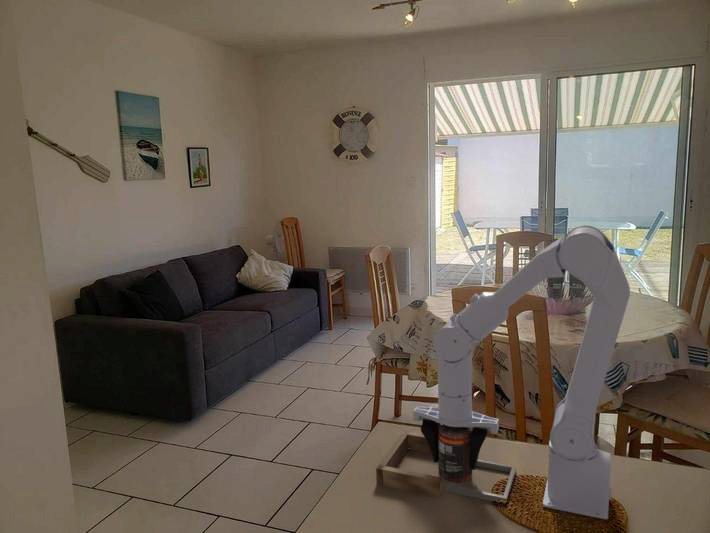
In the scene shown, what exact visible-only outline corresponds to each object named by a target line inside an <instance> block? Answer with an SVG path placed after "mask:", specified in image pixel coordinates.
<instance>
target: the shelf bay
mask: <svg viewBox="0 0 710 533" xmlns="http://www.w3.org/2000/svg"><path fill="white" fill-rule="evenodd" d="M408 448H409V449H408ZM412 449H413V450H412ZM414 449H415V450H414ZM406 450H407V451H408V450H412V451H418V450H420V451H419V452H423V451H425V452H424V453H428V452H430V453H429V454H432V453H431V450H430V447H429V444H428V442H427V440H426V438H425V437H424V435H423V434H422V432H414V431H409V430H408V431H407V430H403V431H402V432H401V434H400V435H399V437H397V439H396V440H395V442H394V443H393V445H392V446H391V447H390V449H388V452H387V453H386V454H385V456H383V458H382V459H381V460H380V462H379V463H378V465H377V466H376V468H375V471H376V472H375V473H376V485H380V486H383V487H389V488H393V489H397V490H402V491H407V492H412V493H416V494H421V495H425V496H428V497H429V496H430V497H435V498H440V496H441V494H442V491H441V490H442V488H441V487H442V484H441V483H442V482H441V479H442V478H441V476H436V475H432V474H426V473H421V472H416V471H411V470H407V469H402V468H396V467H397V466H398V464H399V462H400V461H401V460H402V458H403V457H404V455H405V453H407V451H406Z"/></svg>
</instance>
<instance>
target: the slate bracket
mask: <svg viewBox="0 0 710 533" xmlns="http://www.w3.org/2000/svg"><path fill="white" fill-rule="evenodd" d="M476 467H480V468H486V469H490V470H491V469H492V470H497V471H502V472H505V473H506V472H507V473H509V476H508V480H507V483H506V486H505V489H504V492H503V495H501V494H497V493H492V492H486V491H481V490H477V489H474V488H473V489H472V488H468V487H462V486H458V485H453V484H448V486H447V493H452V494H457V495H461V496H465V497H471V498H476V499H480V500H484V501H489V502H493V500H497V499H498V500H499V499H500V500H507V497H508V494H509V491H510V492H511V490H510V488H511V489H512V487H511V485H512V486H513V483H514V480H513V479H515V476H516V472H517V466H516V465H511V464H510V465H509V464H506V463H505V464H504V463H499V462H494V461H489V460H485V459H484V460H483V459H479V458H478V461H477V466H476ZM512 482H513V483H512ZM509 495H510V494H509ZM508 498H509V497H508Z"/></svg>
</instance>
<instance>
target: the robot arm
mask: <svg viewBox="0 0 710 533" xmlns="http://www.w3.org/2000/svg"><path fill="white" fill-rule="evenodd" d="M562 240H563V237H560V238H559V239H556V240H555V241H554V242H552V243H550V244H549V245H547V246H546V247H545V248H543V249H542V250H541V251H539V252H538V253H537V254H535V256H534V257H532V258H531V259H530V260H529V261H528V262H527V263H526V264H525V265H524V266H523V267H521V269H519V270H518V271H517V272H516V273H515V274H514V275H513V276H512V277H510V279H509V280H508V281H507V282H505V283H504V284H503V285H502V286H501V287H500V288H499V289H498V290H497V291H483V292H481V293H480V294H478V293H474V295H472V297H471V298H469V301H470V303H469V304H468V305H466V307H464V308H463V309H462V310H461V311H459V312H458V314H457V313H453V314H452V315H451V316H450V317H449V321H447V323H445V324H444V326H442V328H440V329H439V330H438V332H437V333H436V335H435V336H434V339H433V348H434V351H435V353H436V354H437V356H438V357H437V362H438V364H437V392H438V393H437V399H438V400H437V402H438V403H437V404H438V405H437V406H416V407H415V408H414V409H413V411H412V414H413V415H412V416H413V417H412V418H413V421H414V422H420V421H422V423H421V426H420V433H421V434H423V435H424V437H425V438H426V440H427V442H428V444H429V447H430V450H431V453H430V454H431V455H432V459H433V463H434V464H438V430H439V427H440V426H441V425H442V424H444V425H446V426H451V427H466V428H471V429H472V432H471V434H470V436H469V439H470V446H471V462H470V468H471V470H472V471H475V470H476V468H477V467H478V466H477V461H478V459H479V456H480V451H481V448H482V445H483V443H484V442H485V441H486V438H487V436H488V434H489V432H490V434H493V435H497V434H498V432H499V429H500V428H499V421H500V419H499V418H498V417H497V418H496V417H491V416H488V415H485V414H481V413H478V412H476V411H474V410H473V366H472V350H471V348H472V347H474V345H475V344H477V343H480V342H482V341H483V340H484V339H485V338H486V337H487V336H488V335H490V334H491V333H492V332H494V331H495V330H496V329H497V328H498V327H499V326H501V325H502V324H503V323H504V322H506V321H507V320H508V318H509V307H511V306H512V305H514V304H515V303H516V302H517V301H519V300H520V299H521V298H522V297H524V296H525V295H527V293H529V292H530V291H531V290H532V289H534V288H535V287H536V286H538V285H539V284H541V283H542V282H543V281H544V280H546V279H551V278H563V277H564V278H565V276H566V273H567V272H568V274H570V275H572V276H573V277H574V278H577V279H578V280H579V281H581V282H582V283H583V285H584V286H585V287H586V288H587V289H588V290H587V291H589V293H591V295H592V297H593V300H592V303H591V308H590V310H589V314H588V318H587V321H586V324H585V327H584V328H585V329H584V331H583V336H582V339H581V343H580V346H579V350H578V354H577V357H576V360H575V364H574V368H573V369H572V370H573V371H572V373H571V374H572V375H571V378H570V380H569V384H568V388H567V390H566V393H565V395H564V396H565V397H564V398H563V399H562V400H561V401H560V402H558V404H557V405H556V407H555V410H554V419H553V423H552V427H551V430H550V434H549V441H548V463H547V464H548V466H547V467H548V469H547V479H546V483H545V489H544V495H543V499H542V506H543V507H545V508H549V509H553V510H557V511H558V510H559V511H563V512H567V513H573V514H578V515H582V516H586V517H592V518H597V519H601V520H608V519H609V505H610V504H609V502H610V500H612V487H610V486H611V485H610V483H611V462H612V460H611V458H612V457H611V456H612V453H610V452H606V451H603V450H601V449H599V448H598V445H597V444H596V443H595V424H596V420H597V419H596V418H597V417H596V414H597V409H598V404H599V400H600V396H601V393H602V389H603V386H604V383H605V381H606V380H605V379H606V377H607V373H608V369H609V366H610V363H611V359H612V357H613V353H614V350H615V346H616V342H617V340H618V336H619V334H620V331H621V325H622V322H623V320H624V316H625V314H626V310H627V306H628V303H629V300H630V295H631V289H630V283H629V281H628V279H627V277H626V274H625V272H624V270H623V269H624V268H623V266H622V264H621V262H620V259H619V256H618V254H617V252H616V249H615V246H614V244H613V243H612V241H610V240H609V238H608V237H607V236H606V235H605V234H604V233H603V231H601V230H600V229H599V228H597V227H595V226H592V225H586V224H584V225H578V226H576V227H574V228H572V229H571V230H570V231H568V232H567V233H566V235H565V236H564V240H563V241H562Z"/></svg>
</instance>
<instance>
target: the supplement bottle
mask: <svg viewBox="0 0 710 533" xmlns="http://www.w3.org/2000/svg"><path fill="white" fill-rule="evenodd" d="M472 431H473V429H472V428H466V427H451V426H446V425H444V424H441V426H440V427H439V430H438V463H437V464H438V466H437V467H438V474H439V477H441V479H442V480H445V481H446V482H448V483H453V484H459V483H465V482H467V481H469V480H470V479H472V477H473V470H471V468H470V462H471V446H470V439H469V436H470V434H471V432H472Z"/></svg>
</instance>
